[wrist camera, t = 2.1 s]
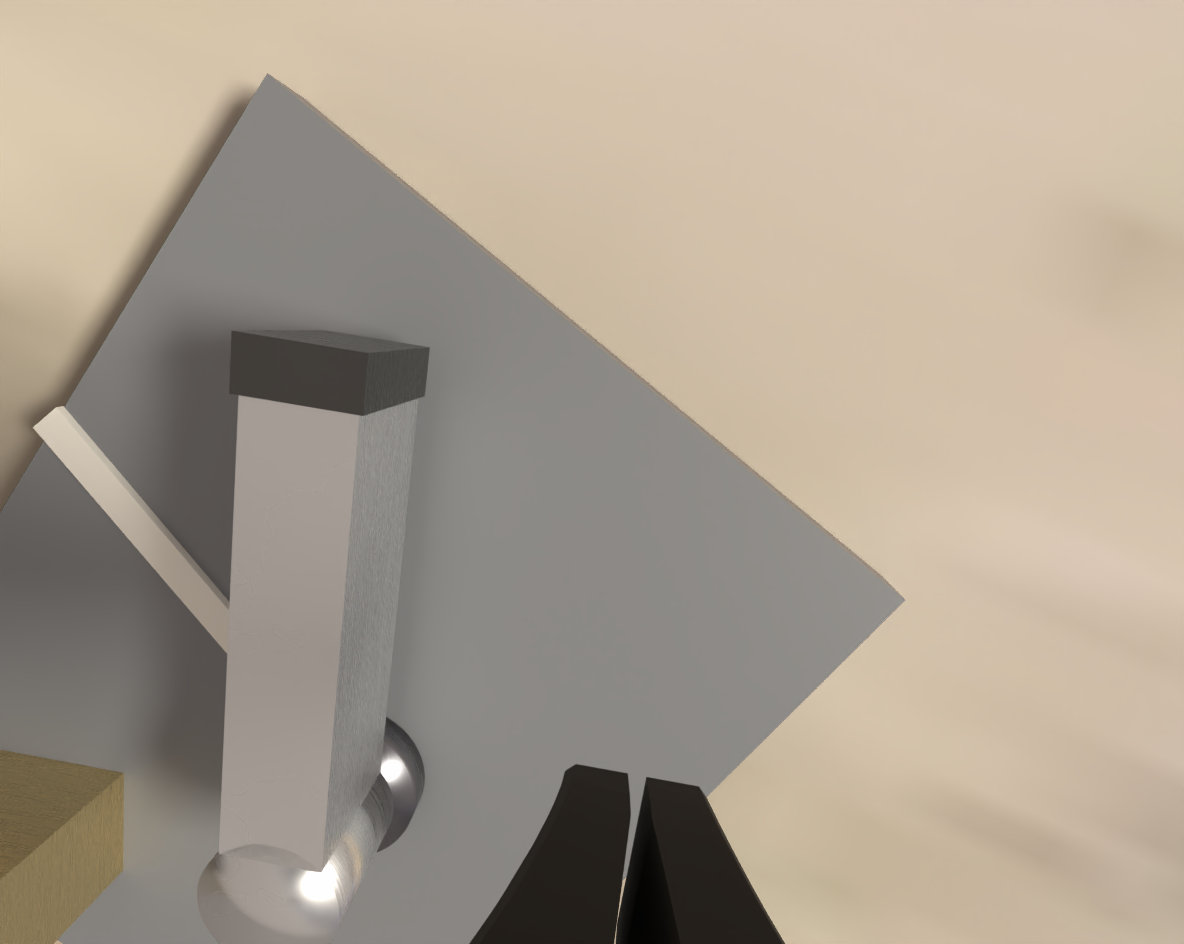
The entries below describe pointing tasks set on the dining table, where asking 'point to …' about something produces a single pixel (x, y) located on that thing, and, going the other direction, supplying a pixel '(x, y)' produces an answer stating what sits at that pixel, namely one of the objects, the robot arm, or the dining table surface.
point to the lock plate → (430, 552)
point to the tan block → (55, 843)
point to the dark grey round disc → (401, 779)
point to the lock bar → (310, 626)
